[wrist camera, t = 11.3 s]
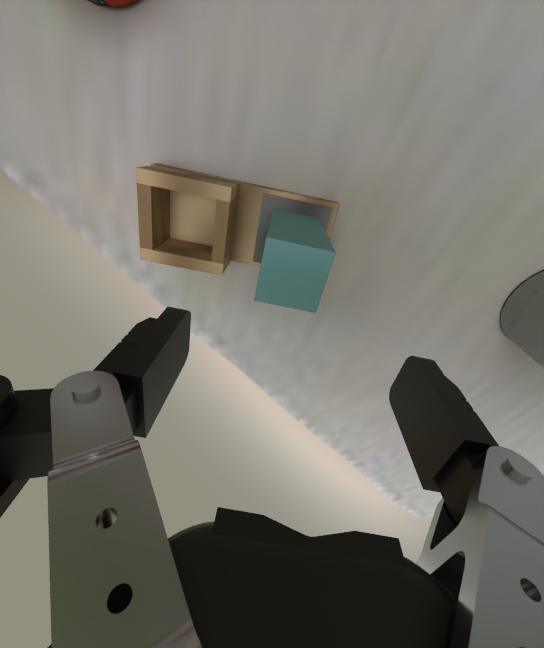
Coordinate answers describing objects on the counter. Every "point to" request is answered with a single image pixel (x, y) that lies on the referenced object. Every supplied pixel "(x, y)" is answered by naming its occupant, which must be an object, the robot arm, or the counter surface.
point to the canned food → (113, 2)
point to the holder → (212, 217)
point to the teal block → (294, 262)
